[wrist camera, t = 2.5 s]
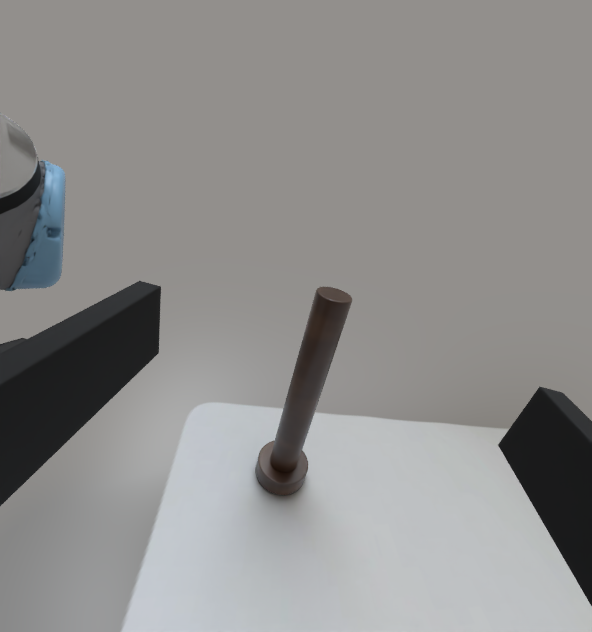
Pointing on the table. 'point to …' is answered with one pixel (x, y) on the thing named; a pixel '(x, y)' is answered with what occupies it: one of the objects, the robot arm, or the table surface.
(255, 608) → the table surface
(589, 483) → the robot arm
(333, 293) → the muddler
